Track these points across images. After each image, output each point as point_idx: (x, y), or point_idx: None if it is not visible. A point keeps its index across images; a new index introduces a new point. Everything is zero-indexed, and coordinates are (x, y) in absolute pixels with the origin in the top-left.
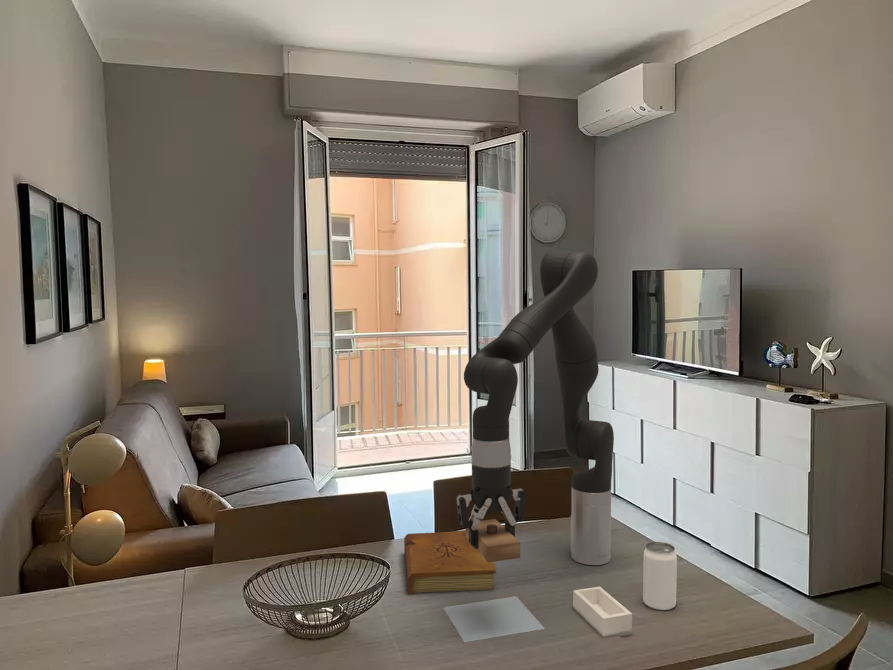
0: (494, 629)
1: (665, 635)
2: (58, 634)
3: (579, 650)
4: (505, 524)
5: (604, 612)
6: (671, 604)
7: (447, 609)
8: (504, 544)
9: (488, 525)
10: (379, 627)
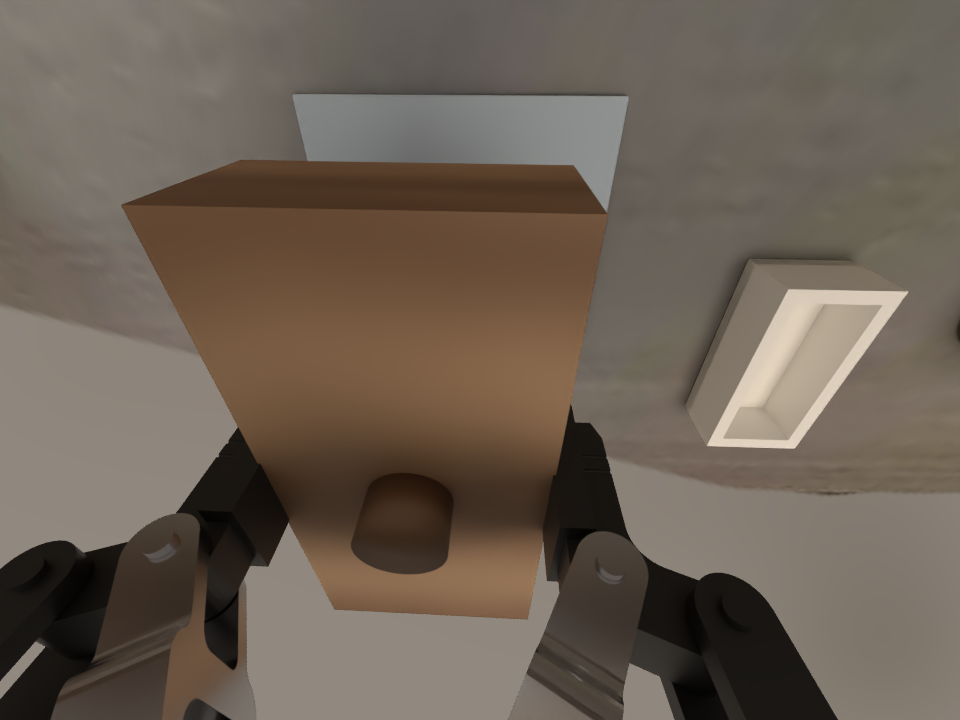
0: None
1: (824, 429)
2: None
3: (602, 421)
4: (556, 522)
5: (799, 330)
6: None
7: (310, 121)
8: (433, 613)
9: (371, 536)
10: (65, 158)
